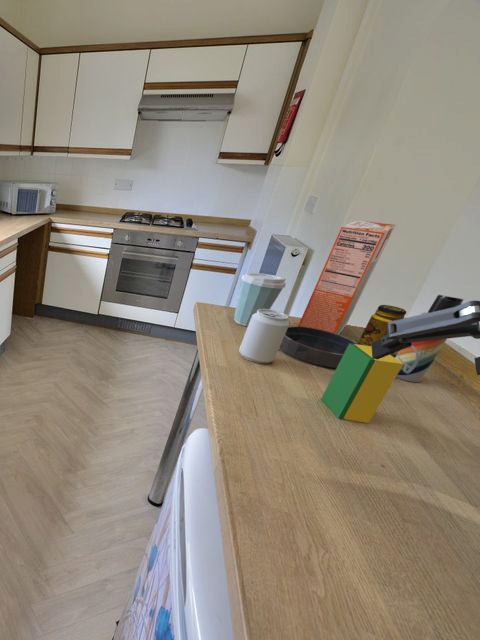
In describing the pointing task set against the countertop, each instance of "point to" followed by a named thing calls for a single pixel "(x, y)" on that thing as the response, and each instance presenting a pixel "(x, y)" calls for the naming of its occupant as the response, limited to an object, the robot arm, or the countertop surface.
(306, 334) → the bowl
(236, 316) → the disposable coffee cup
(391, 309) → the condiment
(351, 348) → the sponge
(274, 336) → the can
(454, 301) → the striped water bottle
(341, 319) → the cereal box
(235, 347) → the countertop surface
